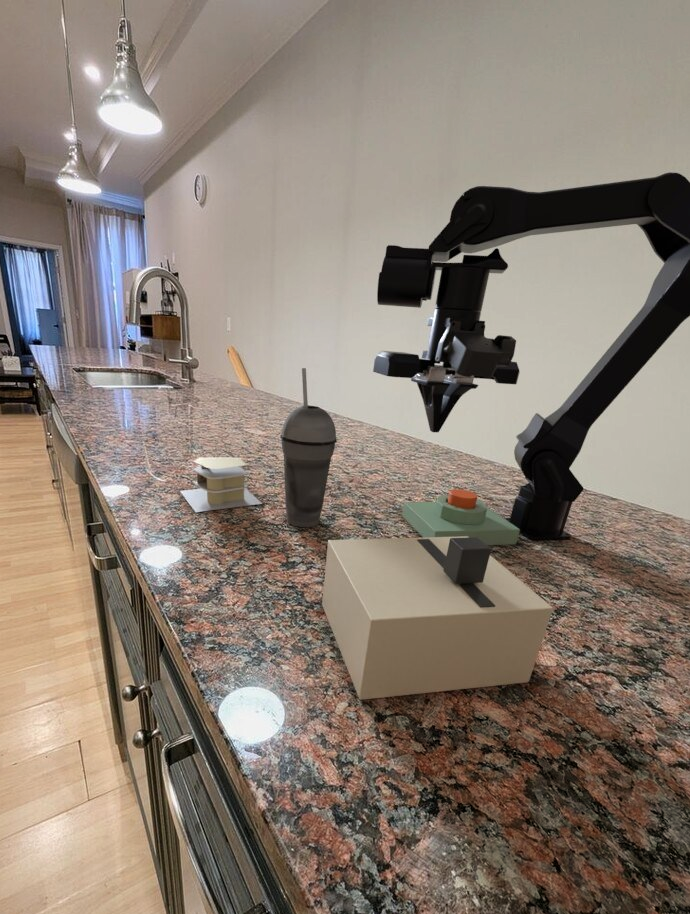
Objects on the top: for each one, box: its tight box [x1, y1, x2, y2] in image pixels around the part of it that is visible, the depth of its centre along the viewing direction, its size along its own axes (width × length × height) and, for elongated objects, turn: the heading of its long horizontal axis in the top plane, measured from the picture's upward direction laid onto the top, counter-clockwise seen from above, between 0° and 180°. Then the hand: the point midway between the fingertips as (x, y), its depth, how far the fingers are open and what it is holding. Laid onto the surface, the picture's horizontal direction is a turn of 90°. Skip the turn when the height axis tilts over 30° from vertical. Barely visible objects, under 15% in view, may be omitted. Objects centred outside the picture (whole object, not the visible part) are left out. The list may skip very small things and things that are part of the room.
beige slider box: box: [321, 536, 554, 701], centre depth 38 cm, size 14×12×7 cm
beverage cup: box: [279, 367, 338, 528], centre depth 58 cm, size 7×7×20 cm
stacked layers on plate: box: [179, 456, 263, 513], centre depth 66 cm, size 10×9×6 cm
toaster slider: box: [443, 537, 492, 584], centre depth 35 cm, size 2×2×3 cm
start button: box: [448, 488, 479, 509], centre depth 60 cm, size 4×4×2 cm
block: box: [401, 494, 520, 546], centre depth 61 cm, size 12×10×4 cm
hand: (434, 431), depth 63 cm, fingers closed
